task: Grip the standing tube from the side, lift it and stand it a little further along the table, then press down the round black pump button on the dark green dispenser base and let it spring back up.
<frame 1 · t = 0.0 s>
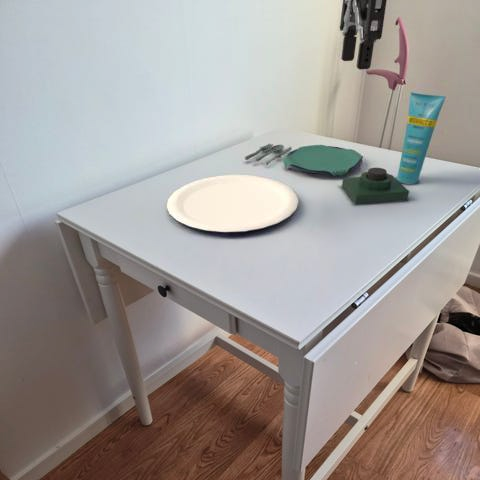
hand: (354, 64, 75), 27 cm above the table, tool pointing down, fingers open, 8 cm apart
pump button: (376, 174, 95), point 4 cm above the table, slide at 0.1 cm
cutlery set: (305, 162, 115), on the table
plate: (232, 207, 95), on the table
tube: (407, 181, 103), on the table
pump base: (373, 193, 98), on the table
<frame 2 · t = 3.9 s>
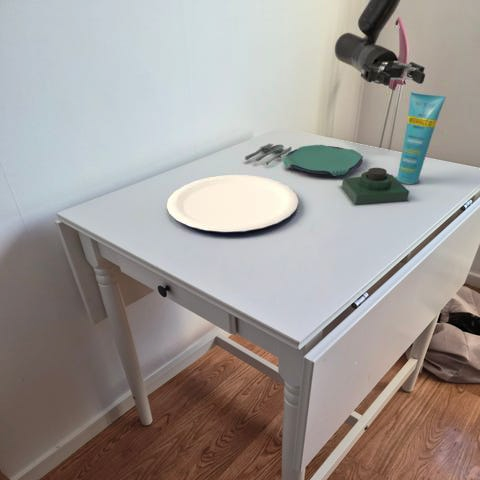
hand: (405, 79, 99), 20 cm above the table, tool horizontal, fingers open, 8 cm apart
nothing on the table moved.
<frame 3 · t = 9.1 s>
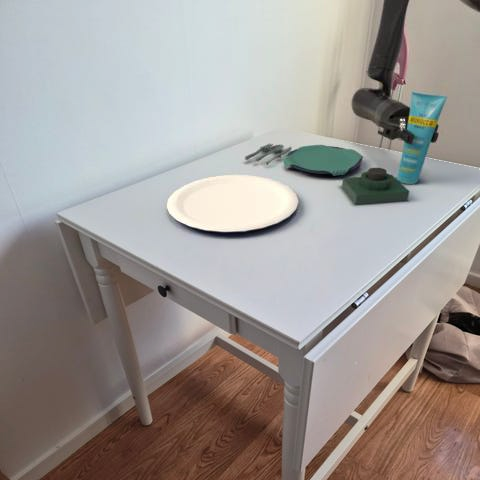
hand: (423, 138, 95), 11 cm above the table, tool horizontal, fingers closed on tube, 5 cm apart
tube: (407, 181, 103), on the table, touching gripper
everything else where it was.
when the fingers open (13 cm above the table, at t = 14.9 s): tube stays where it is, resting on cutlery set.
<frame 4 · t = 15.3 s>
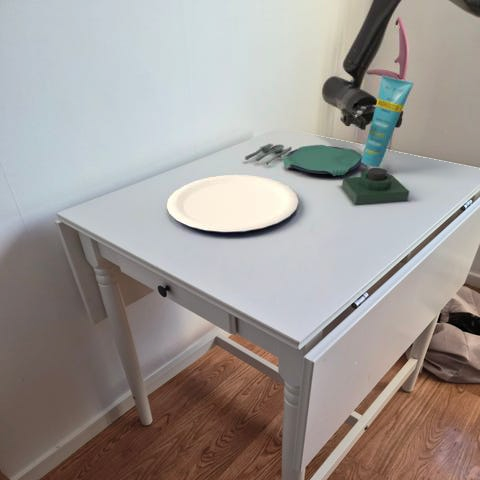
hand: (382, 124, 99), 12 cm above the table, tool horizontal, fingers open, 8 cm apart
cutlery set: (305, 162, 115), on the table, touching tube
tube: (370, 164, 107), point 2 cm above the table, touching cutlery set, gripper
everything else where it was.
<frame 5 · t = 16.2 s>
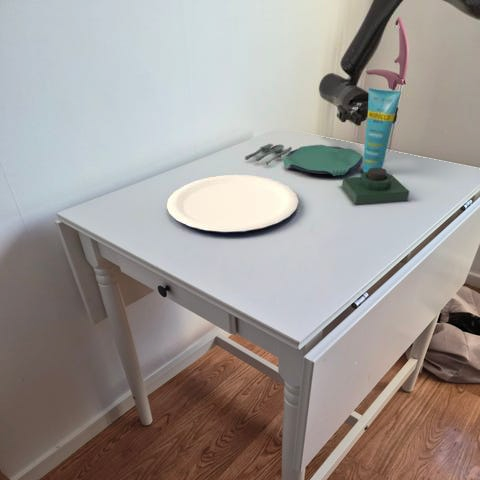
hand: (377, 120, 101), 12 cm above the table, tool horizontal, fingers open, 8 cm apart
cutlery set: (305, 162, 115), on the table
tube: (371, 172, 108), on the table
everything else where it was.
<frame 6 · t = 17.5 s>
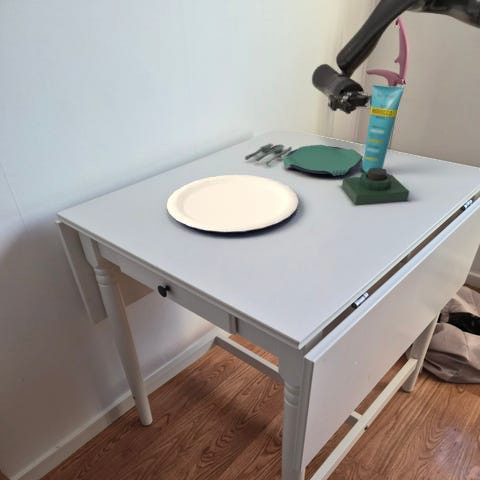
hand: (366, 108, 106), 13 cm above the table, tool horizontal, fingers open, 8 cm apart
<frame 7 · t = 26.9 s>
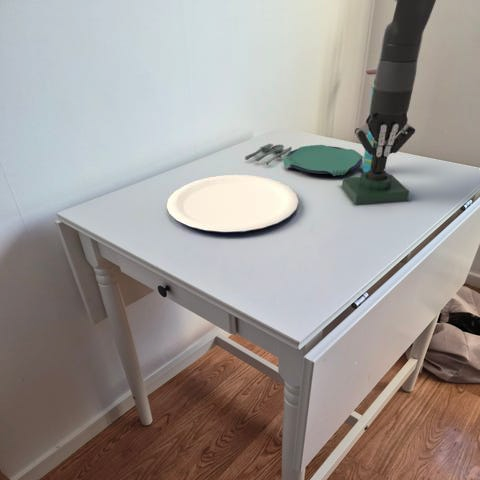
hand: (377, 172, 95), 5 cm above the table, tool pointing down, fingers closed
pump button: (376, 175, 95), point 4 cm above the table, slide at -0.2 cm, touching gripper
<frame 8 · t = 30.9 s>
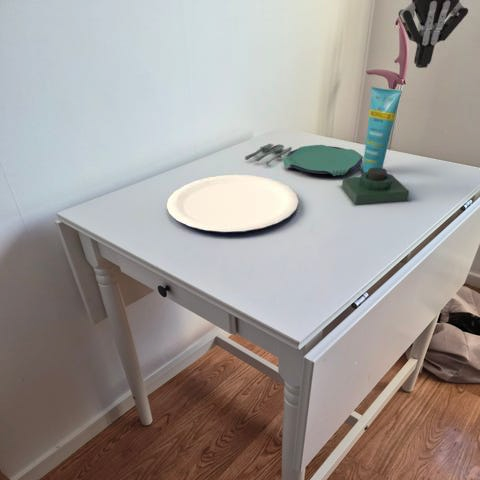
hand: (421, 67, 84), 25 cm above the table, tool pointing down, fingers closed
pump button: (376, 174, 95), point 4 cm above the table, slide at 0.1 cm
everything else where it was.
at the end: tube inside the target area (0.4 cm from its centre), on the table; pump button pushed in 1.1 cm at the most during the clip, back to where it started at the end; pump button slide at 0.1 cm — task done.
